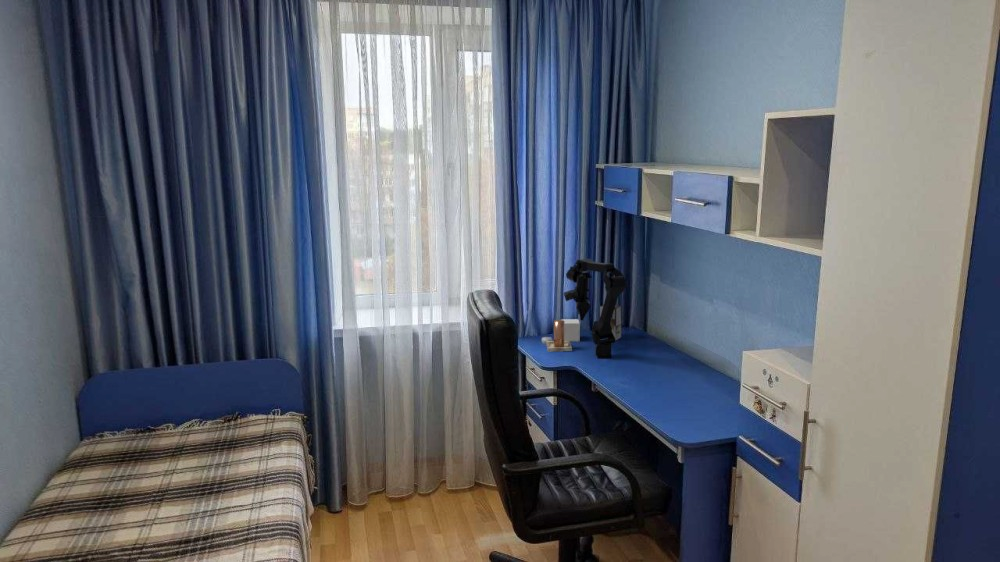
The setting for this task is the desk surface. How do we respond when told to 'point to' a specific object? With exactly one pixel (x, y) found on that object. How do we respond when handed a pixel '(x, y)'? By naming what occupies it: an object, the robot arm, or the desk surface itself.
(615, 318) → the coffee box
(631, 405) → the desk surface
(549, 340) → the flattened gray dome
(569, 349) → the tray
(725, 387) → the desk surface
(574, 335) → the block
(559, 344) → the copper cylinder
